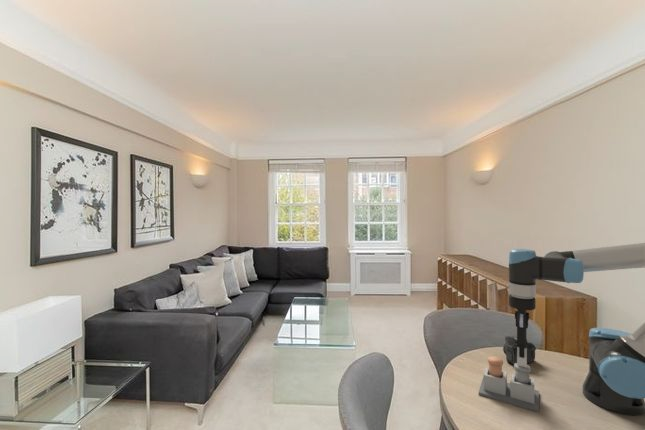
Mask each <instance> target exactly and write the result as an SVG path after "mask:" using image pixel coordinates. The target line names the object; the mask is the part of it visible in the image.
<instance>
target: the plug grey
mask: <svg viewBox="0 0 645 430" xmlns="http://www.w3.org/2000/svg"><path fill="white" fill-rule="evenodd" d="M513 369H514V370H515V372H514V374H515V382H519V383H523V384H527V385H530V378H531V377H530V373H531V372H532V367H531V366H530V365H528V364H527V368H526V367H522V366H518V365H517V363H515V364H514V365H513Z"/></svg>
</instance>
